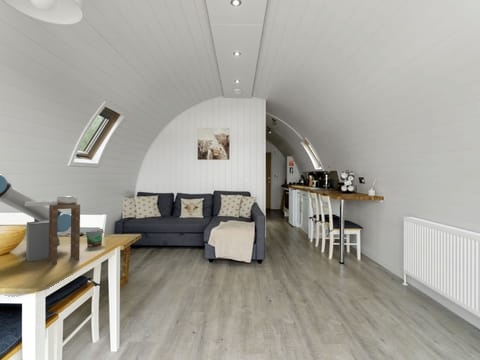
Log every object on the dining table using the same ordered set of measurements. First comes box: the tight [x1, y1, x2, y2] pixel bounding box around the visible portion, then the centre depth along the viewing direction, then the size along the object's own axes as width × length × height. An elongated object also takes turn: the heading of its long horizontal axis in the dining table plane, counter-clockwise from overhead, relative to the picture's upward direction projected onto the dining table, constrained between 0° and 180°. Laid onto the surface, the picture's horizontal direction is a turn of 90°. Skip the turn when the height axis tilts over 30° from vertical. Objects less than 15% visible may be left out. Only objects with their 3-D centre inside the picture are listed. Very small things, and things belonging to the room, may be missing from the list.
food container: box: [85, 228, 105, 248], centre depth 166 cm, size 12×6×10 cm, turn 168°
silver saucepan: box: [25, 195, 78, 206], centre depth 132 cm, size 9×22×4 cm, turn 136°
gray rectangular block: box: [25, 221, 49, 263], centre depth 139 cm, size 8×10×20 cm
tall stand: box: [48, 203, 81, 265], centre depth 136 cm, size 10×12×30 cm
